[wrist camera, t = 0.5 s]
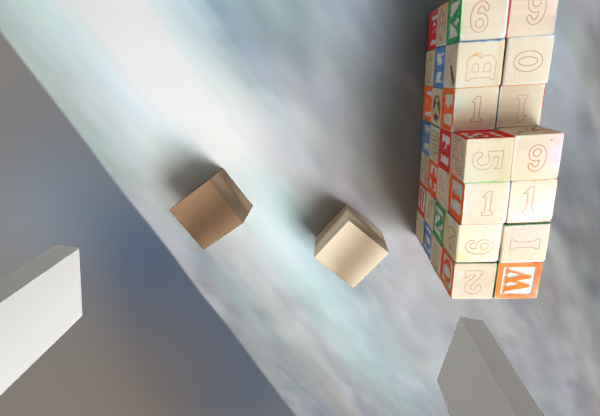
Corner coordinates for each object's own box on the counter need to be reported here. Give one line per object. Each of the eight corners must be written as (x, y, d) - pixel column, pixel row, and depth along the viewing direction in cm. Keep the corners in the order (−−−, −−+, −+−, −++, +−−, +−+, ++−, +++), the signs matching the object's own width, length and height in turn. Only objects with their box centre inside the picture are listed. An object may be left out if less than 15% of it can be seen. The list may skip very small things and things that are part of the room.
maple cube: (315, 236, 40) (314, 257, 36) (346, 203, 39) (348, 220, 34) (350, 263, 41) (353, 287, 36) (381, 232, 40) (389, 252, 35)
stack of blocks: (426, 11, 32) (481, -25, 21) (501, 6, 32) (599, -35, 20) (414, 236, 39) (450, 301, 28) (475, 235, 39) (538, 301, 27)
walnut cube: (187, 194, 40) (169, 210, 35) (223, 168, 38) (208, 180, 34) (217, 230, 41) (203, 249, 36) (252, 205, 40) (243, 222, 35)
